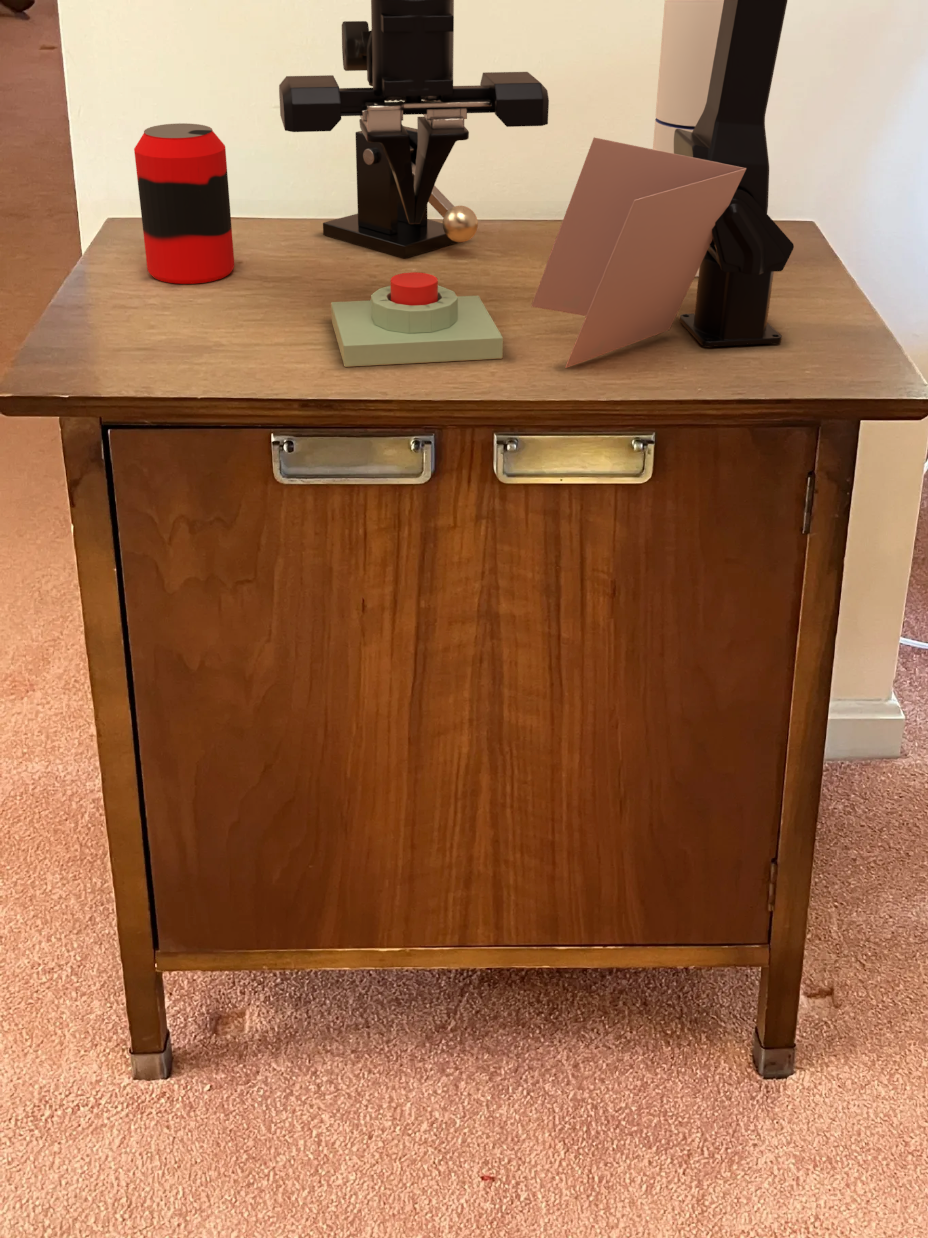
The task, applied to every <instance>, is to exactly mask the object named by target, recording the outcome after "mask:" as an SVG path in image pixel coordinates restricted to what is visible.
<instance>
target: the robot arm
mask: <svg viewBox="0 0 928 1238" xmlns="http://www.w3.org/2000/svg"><path fill="white" fill-rule="evenodd" d="M787 6H788V0H724V3H723V9H722V15H721V21H720V27H719V32H718V38H717V44H716V50H715V56H714V61H713V67H712V73H711V79H710V84H709V90H708V96H707V102H706V105H705V108H704V111H703V113H702V115H701V117H700V119H699V120H698V122H697V124H696V126H695V128H694V130H693V132H689V131H685V130H681V129H676V130H675V133H674V154H678V155H683V156H688V157H693V158H698V159H703V160H708V161H713V162H718V163H723V164H727V165H732V166H737V167H742V168H746V171H745V173H744V175H743V177H742V179H741V181H740V183H739V185H738V187H737V189H736V191H735V194H734V196H733V198H732V200H731V202H730V204H729V206H728V207H727V209H726V210H725V211H724V213H723V214H722V215H721V216H720V217H719V218H718V220H717V221H716V222H715V226H714V227H713V228H712V236H713V240H712V242H711V244H710V246H709V248H708V250H707V252H706V254H705V256H704V258H703V260H702V263H701V265H700V267H699V276H697V286H696V287H697V288H696V296H695V297H696V298H695V306H694V313H681V314H679V318H678V321H679V323H681V325H682V326H683V327H684V328H685V329H686V330H687V331H688V332H689V333H690V334H691V335H692V337H693V338H694V339H695V340H696V341H697V342H698V343H699V344H700V346H702V347H706V348H707V347H731V346H748V345H749V346H750V345H767V344H780V343H782V339H783V337H782V336H783V335H782V334H781V333H779V332H778V331H777V330H776V329H775V328H774V327H773V326H772V325H771V324H769V322H768V319H769V312H770V305H771V296H772V290H773V289H772V288H773V281H774V273H775V272H782V271H784V269H785V267H786V265H787V263H788V261H789V258H790V256H791V254H792V252H793V250H794V247H795V246H794V243H793V241H791V240H790V238H789V237H788V236H787V235H786V233H785V232H784V231H783V230H782V229H781V228H780V227H779V226H778V225H777V224H776V222H775V221H774V220H773V219H772V218H771V216H769V214H768V210H769V193H770V192H769V189H770V160H769V152H768V150H769V149H768V143H767V142H768V141H767V132H766V113H767V107H768V103H769V98H770V94H771V93H770V92H771V87H772V81H773V76H774V72H775V67H776V62H777V57H778V52H779V47H780V42H781V36H782V30H783V27H784V20H785V16H786V10H787ZM370 17H371V18H370V20H371V28H370V27H369V22H368V21H366V20H358V21H357V20H352V21H351V20H349V21H348V20H346V21H342V22H341V52H342V53H341V55H342V67H343V70H344V71H345V72H357V71H359V72H364V71H366V81H367V83H368V85H369V86H370V87H340V86H339V84H338V82H337V80H336V78H335V77H334V75H332V74H331V75H330V74H329V75H326V74H325V75H324V74H323V75H286V76H285V77H284V78H283V79H282V81H281V82H280V83H279V85H278V97H279V98H278V99H279V113H280V114H279V116H280V119H281V122H282V125H283V128H284V131H285V132H289V133H290V132H291V133H310V132H311V133H313V132H316V133H317V132H331V131H332V130H333V129H334V128H335V127H336V126H338V124H339V122H341V121H342V117H359V128H360V131H362V132H363V134H364V136H365V138H366V140H367V141H368V142H373V143H380V144H381V146H382V148H383V150H384V152H385V154H386V157H387V159H388V161H389V164H390V166H391V169H392V172H393V175H394V178H395V181H396V185H397V188H398V191H399V194H400V197H401V200H402V204H403V207H404V210H405V213H406V216H407V219H408V222H409V224H414V223H415V224H420V222H421V220H422V217H423V214H424V212H425V209H426V206H427V207H428V205H429V204H428V203H429V202H428V201H429V198H430V196H431V193H432V190H433V188H434V185H435V184H436V182H437V179H438V177H439V175H440V172H441V170H442V169H443V167H444V165H445V163H446V161H447V159H448V157H449V155H450V153H451V152H452V150H453V148H454V146H455V144H456V143H457V142H458V141H467V140H469V139H470V131H469V130H468V129H467V127H466V126H465V120H468V114H494V115H495V116H496V117H497V118H498V119H499V120H500V121H501V122H502V123H503V125H504V126H505V127H507V128H512V127H513V128H514V127H515V128H516V127H517V128H518V127H519V128H520V127H543V126H546V125H548V124H549V110H550V109H549V104H550V100H549V99H550V98H549V92H548V89H547V88H546V87H545V86H544V85H543V84H542V82H540V81H539V80H538V79H537V78H536V77H534V75H532V74H531V73H530V72H529V71H497V72H496V71H495V72H494V71H493V72H488V71H487V72H482V75H481V79H480V83H479V85H454V43H455V42H454V40H455V39H454V38H455V35H454V34H455V33H454V32H455V31H454V30H455V29H454V28H455V0H370ZM370 29H371V30H370ZM407 115H408V116H409V115H423V116H417V119H416V121H417V123H416V124H417V129H418V146H417V148H418V149H417V157H416V167H415V178H414V184H413V173H412V163H411V153H410V142H409V134H408V133H407V131H406V130H405V128H404V127H403V126H404V125H403V124H402V123H403V121H404V116H407ZM435 186H436V185H435Z"/></svg>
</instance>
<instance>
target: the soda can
mask: <svg viewBox="0 0 928 1238" xmlns="http://www.w3.org/2000/svg"><path fill="white" fill-rule="evenodd" d="M133 151H134V161H135V170H136V180H137V187H138V197H139V206H140V214H141V224H142V232H143V241H144V251H145V259H146V269H147V272H148V273H149V274H150V275H151V276H152V277H153V278H154V279H156V280H158V281H160V282H164V283H168V284H177V285H180V284H181V285H196V284H197V285H198V284H204V283H211V282H216V281H219V280H221V279H223V278H226V277H228V276H229V275H230V274H231V273H232V271H233V270H234V269H235V254H234V253H235V252H234V241H233V230H232V216H231V203H230V202H231V201H230V188H229V177H228V175H229V174H228V164H227V151H226V145H225V144H224V142H223V141H222V140H221V139H220V137H219V136H218V135H217V134H216V133H215V132H214V131H213V128H212V127H210V126H208V125H205V124H198V123H187V122H186V123H181V122H179V123H165V124H158V125H153V126H150V127H148V128H145V129H144V130H143V133H142V135H141V137H140V138H139V140H138V142H137V144H136V145H135V146H134V148H133Z"/></svg>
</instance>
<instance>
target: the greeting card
mask: <svg viewBox="0 0 928 1238" xmlns="http://www.w3.org/2000/svg"><path fill="white" fill-rule="evenodd" d="M745 171H746V168H742V167H737V166H732V165H727V164H723V163H718V162H713V161H708V160H703V159H698V158H693V157H688V156H683V155H678V154H673V153H668V152H664V151H659V150H654V149H653V148H649V147H644V146H639V145H633V144H628V143H624V142H620V141H619V142H618V141H613V140H609V139H604V138H600V137H595V136H593V138H592V141H591V143H590V146H589V149H588V152H587V154H586V157H585V160H584V163H583V166H582V168H581V170H580V173H579V176H578V178H577V182H576V184H575V187H574V189H573V193H572V194H571V197H570V201H569V202H568V206H567V209H566V211H565V213H564V216H563V219H562V221H561V225H560V227H559V230H558V233H557V235H556V238H555V241H554V243H553V246H552V249H551V251H550V254H549V257H548V260H547V262H546V265H545V268H544V270H543V273H542V276H541V278H540V280H539V284H538V286H537V289H536V292H535V294H534V297H533V300H532V303H531V305H530V307H531V308H538V309H543V310H547V311H548V310H549V311H554V312H561V313H567V314H573V315H579V316H584V317H585V318H584V320H583V323H582V326H581V327H580V329H579V333H578V335H577V338H576V340H575V343H574V345H573V347H572V349H571V352H570V354H569V357H568V359H567V362H566V364H565V366H564V368H565V369H567V368H569V367H573V366H575V365H578V364H580V363H583V362H586V361H589V360H591V359H594V358H596V357H597V358H598V357H600V356H602V355H606V354H609V353H611V352H614V351H617V350H619V349H621V348H624V347H627V346H630V345H632V344H636V343H638V342H640V341H644V340H646V339H650V338H651V337H655V336H656V335H661V334H663V333H666V332H668V331H670V329H671V327H672V325H673V323H674V321H675V318H676V317H677V315H678V313H679V311H680V309H681V307H682V305H683V302H684V300H685V298H686V296H687V294H688V292H689V290H690V287H691V285H692V283H693V281H694V279H695V275H696V273H697V271H698V269H699V267H700V265H701V263H702V260H703V258H704V256H705V254H706V252H707V250H708V248H709V246H710V244H711V242H712V240H713V236H712V228H713V227H714V226H715V222H716V221H717V220H718V218H719V217H720V216H721V215H722V214H723V213H724V211H725V210H726V209H727V207H728V206H729V204H730V202H731V200H732V198H733V196H734V194H735V191H736V189H737V187H738V185H739V183H740V181H741V179H742V177H743V175H744V173H745Z"/></svg>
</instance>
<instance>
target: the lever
mask: <svg viewBox="0 0 928 1238" xmlns="http://www.w3.org/2000/svg"><path fill="white" fill-rule="evenodd" d="M412 152H413V148H412V147H411V146H410V153H411V154H412ZM411 163H412V173H413V184H414V178H415V167H416V165H415V164H414V163H413V162H412V161H411ZM428 203H429V204H430V206H432V208H434V210H435V211H436V212H437V213H438V214H439V215H440V216H441V217H442V218H443V220H442V223H443V230H444V232H445V234H446V235H447V237H448V238H450V239H451V240H453V241H455V242H458V243H465V242H467V241H470V240H471V239H472V238H473V237H474V236H475V235H476V233H477V231H478V227H479V221H478V218H477V214H476V213H475V211H473V209H471V208H469V207H468V206H465V205H454V204H453V203H452V202H451V200H449V199H448V198H447V196H445V195H444V194H443V192H441V190H440V189H438V187H437V186H436V185H434V188H433V190H432V193H431V196H430V198H429V201H428Z"/></svg>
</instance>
